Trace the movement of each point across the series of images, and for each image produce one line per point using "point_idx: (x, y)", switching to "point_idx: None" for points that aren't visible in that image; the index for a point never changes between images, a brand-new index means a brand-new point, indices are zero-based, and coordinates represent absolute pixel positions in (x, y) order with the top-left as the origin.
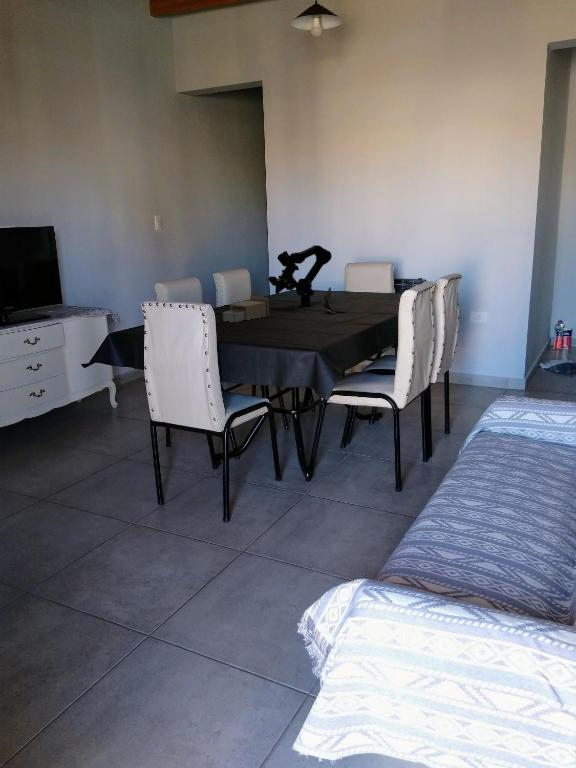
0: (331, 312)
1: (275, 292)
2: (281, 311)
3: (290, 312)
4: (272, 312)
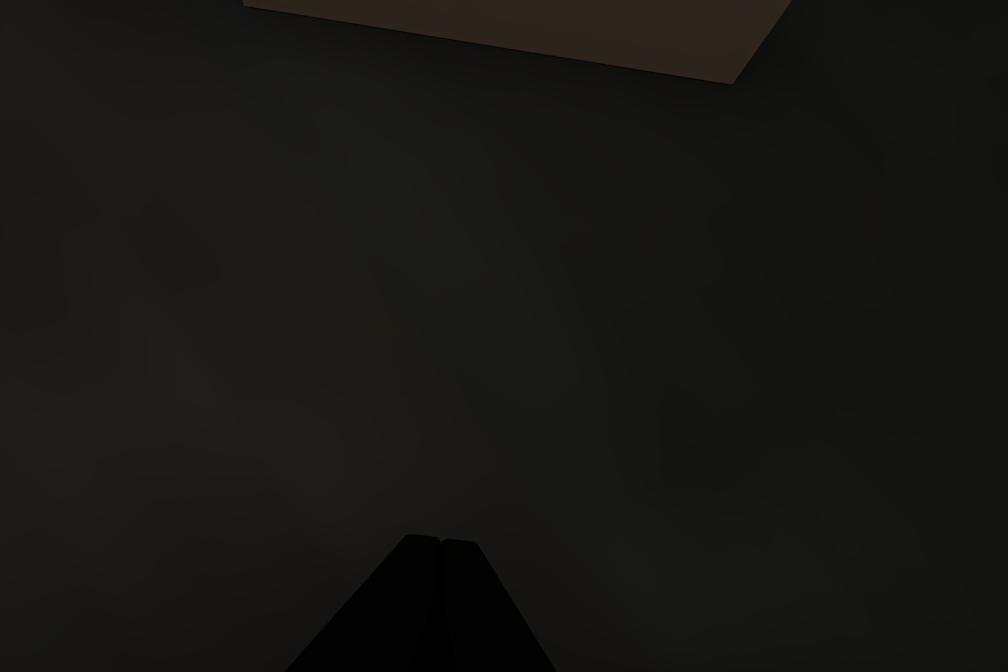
0: None
1: (472, 553)
2: None
3: (40, 626)
4: (472, 431)
